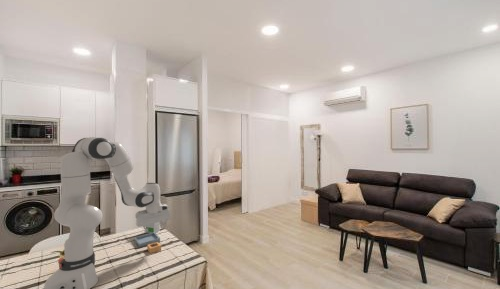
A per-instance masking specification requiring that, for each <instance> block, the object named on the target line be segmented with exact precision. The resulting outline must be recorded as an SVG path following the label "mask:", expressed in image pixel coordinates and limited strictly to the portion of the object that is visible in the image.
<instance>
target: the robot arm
mask: <svg viewBox="0 0 500 289" xmlns="http://www.w3.org/2000/svg"><path fill="white" fill-rule="evenodd" d="M93 160H105V161H106V162H107V165H108V166H109V167H108V168H109V169H110V170H111V172H112V174H113V177H114V180H115V183H116V185H117V187H118V189H119V191H120V196H121V202H122V204H123V205H125V206H127V207H135V208H145V209H142V210H139V211H137V212H136V213H135V225H136V226H137V227H138V228H141V227H142V228H143V229H144V233H146V232H148V229H147V228H146V225H149V224H153V223H157V222H160V223H161V224H160V229H163V228H164V225H165V223H166V221H169V220H170V219H171V217H172V216H171V211H170V209H169V207H170V206H169V205H168V204H166V203H161V202H162V201H161V188H160V185H159V183H156V182H147V183H146V184H145V185H144V186H143V187H142V188H140V189H139V190H138V189H136V188H133V186H132V185H131V182H130V180H129V177H128V175H130V174H131V173H132V172H133V170H134V163H133V160H132V158H131V156H130V154H129V153H128V151H127V150H126V148H125V147H124V146H123V144H121V142H117V141H113V142H111V141H110V140H109V139H107V138H104V137H95V136H92V137H90V136H89V137H83V138H80V139H79V140H77V141H76V143H75V144H74V147H73V148H72V150H71V152H68V153H65V154H64V155H63V157H62V159H61V163H60V164H61V165H60V181H61V182H60V184H61V196H60V201H59V205H58V207H57V208H55V210H54V214H53V217H54V218H53V219H54V220H55V222H57V223H58V224H59V225H61V226H64V227H69V229H70V230H69V231H70V232H69V236H68V238H67V239H66V240H65V241H64V244H63V245H64V247H63V248H64V249H63V251H64V258H63V257H61V258H59V259H58V261H57V263H58V269H57V270H56V271H55V272H54V273H52V274H51V275H50V276H49V277H47V279H46V281H45V283H44V284H43V288H42V289H91V288H93V287H94V286H95V285H96V284H98V282H99V277H98V274H97V271H96V267H95V266H96V265H95V263H96V254H95V253H96V252H95V251H94V236H95V232H96V228H97V227H98V226H99V225H100V224H101V223H102V222H103V221H102V220H103V217H104V216H103V211H102V210H101V209H100V208H98V207H96V206H95V205H91V204H87V203H86V200H87V199H86V198H87V196H88V194H89V193H90V192H91V190H92V185H91V184H92V183H91V182H92V181H91V170H90V167H91V164H92V161H93Z"/></svg>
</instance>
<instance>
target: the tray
mask: <svg viewBox="0 0 500 289" xmlns="http://www.w3.org/2000/svg"><path fill="white" fill-rule="evenodd" d="M133 238H134V242H135V244H136V246H137V247H138V248H143V247H144V248H145V247H147V245H149V244H152V243H156V242H158V243H160V242H161V238H160V236H159V235H157V233H155V232H153V233H145V234H143V235H138V236H135V237H133Z"/></svg>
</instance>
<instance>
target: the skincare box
mask: <svg viewBox="0 0 500 289" xmlns="http://www.w3.org/2000/svg"><path fill="white" fill-rule="evenodd" d="M160 225H161V222H157V223H153V224H149V225H146V227H145V228H147V229H148V232H145V234H149V233H153V232H155V233H156V234H157V233H159V232H160V231H161V228H160Z"/></svg>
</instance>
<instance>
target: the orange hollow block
mask: <svg viewBox="0 0 500 289" xmlns="http://www.w3.org/2000/svg"><path fill="white" fill-rule="evenodd" d="M154 244H155V245H156V246H154V247H153V243H152V244H149V245H147V246H146V248H147V251H148V252H149V254H153V253H155V252H160V251H162V245H161V244H160V242H156V243H154Z"/></svg>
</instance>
